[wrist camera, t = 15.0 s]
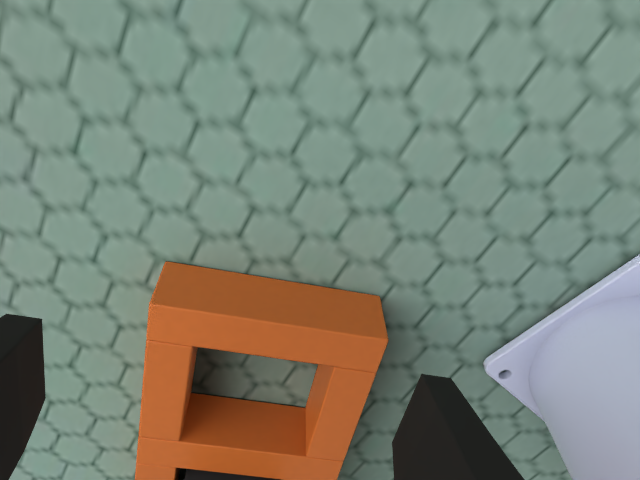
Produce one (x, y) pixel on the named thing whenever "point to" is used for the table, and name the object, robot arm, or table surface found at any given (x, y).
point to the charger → (219, 476)
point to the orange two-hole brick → (262, 340)
